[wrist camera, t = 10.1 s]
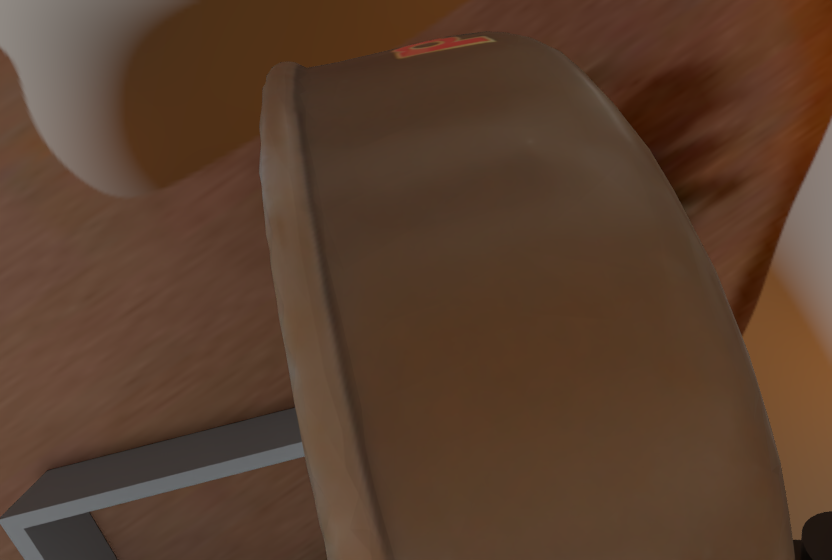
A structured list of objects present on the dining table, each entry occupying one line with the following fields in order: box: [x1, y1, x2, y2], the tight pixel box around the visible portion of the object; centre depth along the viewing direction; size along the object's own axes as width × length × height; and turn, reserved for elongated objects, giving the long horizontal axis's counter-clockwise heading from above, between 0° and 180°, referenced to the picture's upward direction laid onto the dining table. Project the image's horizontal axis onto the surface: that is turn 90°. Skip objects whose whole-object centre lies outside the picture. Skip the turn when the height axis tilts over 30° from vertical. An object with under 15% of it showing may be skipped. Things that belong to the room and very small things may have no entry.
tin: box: [259, 32, 795, 560], centre depth 7 cm, size 15×3×8 cm, turn 13°
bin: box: [0, 408, 305, 560], centre depth 29 cm, size 15×21×4 cm
